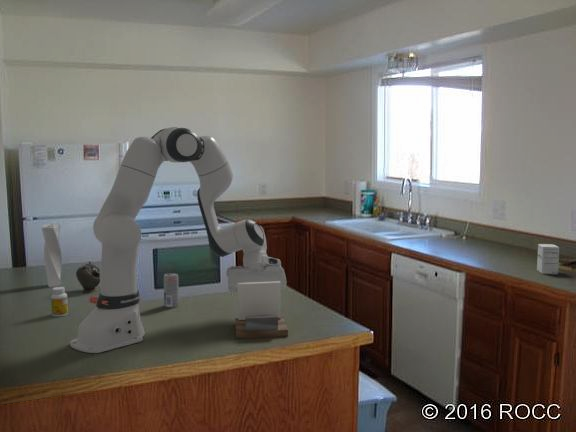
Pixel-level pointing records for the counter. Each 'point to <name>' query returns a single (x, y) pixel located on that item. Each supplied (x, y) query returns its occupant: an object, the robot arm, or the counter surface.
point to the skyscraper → (52, 254)
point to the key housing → (261, 326)
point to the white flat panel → (259, 298)
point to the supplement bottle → (59, 302)
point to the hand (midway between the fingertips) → (258, 300)
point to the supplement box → (548, 259)
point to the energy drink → (171, 290)
